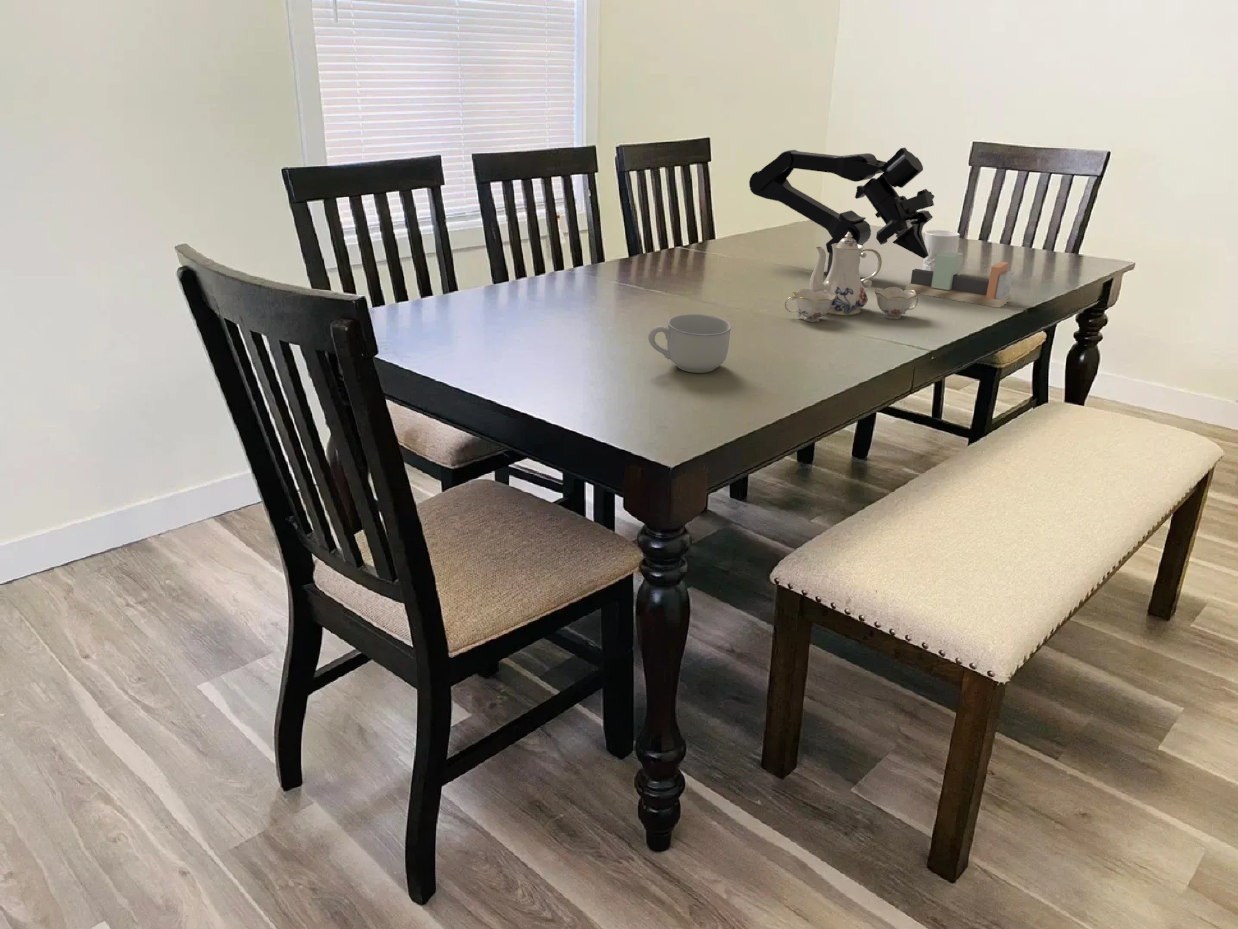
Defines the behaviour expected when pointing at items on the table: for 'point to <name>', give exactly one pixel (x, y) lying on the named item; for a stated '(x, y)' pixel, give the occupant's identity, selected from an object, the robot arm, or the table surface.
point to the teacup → (694, 341)
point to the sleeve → (946, 269)
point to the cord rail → (957, 284)
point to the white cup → (938, 245)
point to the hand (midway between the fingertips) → (926, 257)
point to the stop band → (995, 278)
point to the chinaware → (847, 286)
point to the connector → (1004, 285)
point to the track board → (957, 295)
